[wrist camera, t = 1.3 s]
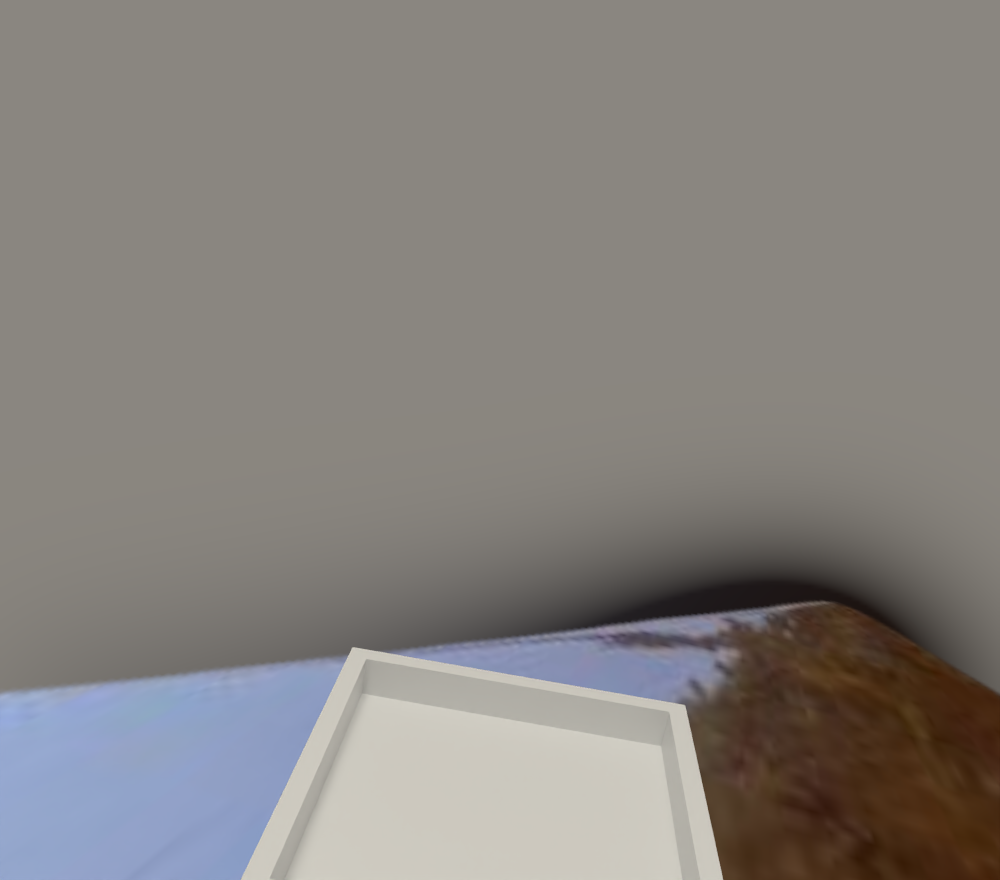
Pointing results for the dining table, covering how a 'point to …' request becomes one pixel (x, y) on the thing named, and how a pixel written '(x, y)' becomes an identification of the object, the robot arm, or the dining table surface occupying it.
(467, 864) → the tray
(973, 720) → the dining table surface
